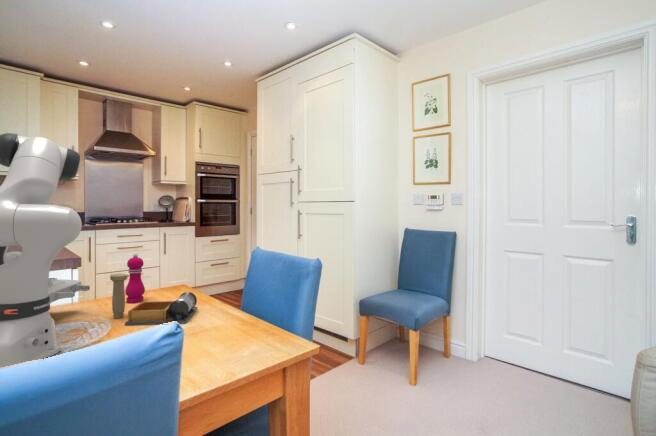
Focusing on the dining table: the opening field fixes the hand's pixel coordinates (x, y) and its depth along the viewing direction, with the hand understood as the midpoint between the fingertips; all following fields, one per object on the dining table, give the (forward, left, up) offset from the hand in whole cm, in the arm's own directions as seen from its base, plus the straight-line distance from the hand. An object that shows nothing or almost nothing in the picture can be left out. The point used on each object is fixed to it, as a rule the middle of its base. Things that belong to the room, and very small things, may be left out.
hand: (81, 291), depth 121 cm
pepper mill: (+23, -9, -10) cm, 26 cm away
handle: (0, -12, -10) cm, 16 cm away
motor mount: (-1, -28, -9) cm, 29 cm away
